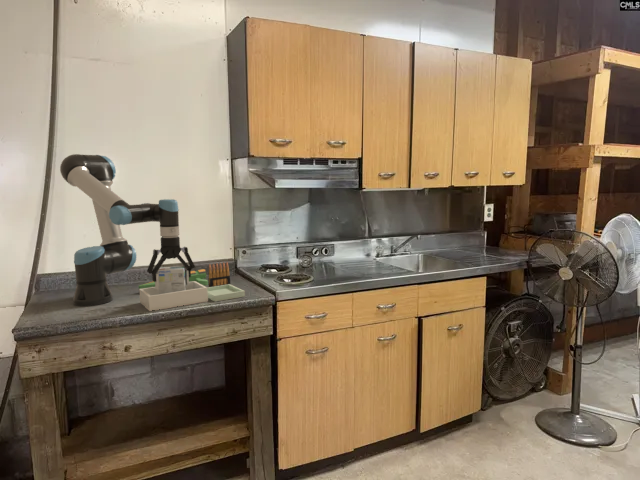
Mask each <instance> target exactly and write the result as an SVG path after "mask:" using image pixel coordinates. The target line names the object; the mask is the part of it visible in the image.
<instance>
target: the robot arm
mask: <svg viewBox="0 0 640 480" xmlns="http://www.w3.org/2000/svg"><path fill="white" fill-rule="evenodd" d="M59 168H60V169H59V170H60V174H61V176H62V178H63V180H64V181H65V182H67V183H68V184H69V185H70V186H72V187H77V188H78V189H79V190H80V191H81V192H83V193H84V194H85V195H87V196H88V197H89V198H90V199H91V200H92V205H93V208H94V213H95V215H96V220H97V225H98V229H99V233H100V238H101V241H102V242H101V243H100V244H99V245H95V246H87V247H83V248H80V249H78V250H76V251H75V252H74V255H73V256H74V257H73V259H74V260H73V264H74V269H75V271H74V273H75V283H76V287H75V292H74V295H73V300H72V301H73V305H74V306H78V307H88V306H89V307H90V306H97V305H99V306H100V305H103V304H107V303H110V302H111V301H113V293H112V291H111V288H110V286H109V284H108V281H107V275H112V274H116V273H121V272H122V273H123V272H125V271H127V270H130V269H132V268H133V267H134V266H135V264H136V261H137V251H136V249H135V248H134V247H133V245H131V244H129V243H128V240H127V239H126V238H124V236H123V234H122V229H121V226H124V225H126V226H127V225H132V224H140V223H149V222H158V223H159V235H160V249H156V248H155V249H153V250H152V257H151V259H150V262H149V264H148V267H147V270H146V271H147V273H149V274H151V275H152V276H151V277H152V282H155V289H157V290H159V281H158V270H159V268H160V267H162V265H163V264H164V262H165V261H166V260H170V259H177V260H178V261H179V262H180V263H181V264H182V266H185V282H186V285H187V286H188V285H189V277H191V271H192V269H195V267H196V266H195V264H194V262H193V260H192V257H191V256H190V254H189V249H188V247H187V246H182V247H181V242H180V241H181V240H180V225H179V223H180V222H179V221H180V220H179V212H180V211H179V210H180V209H179V202H178V201H177V199H174V198H173V199H172V198H170V199H169V198H168V199H166V198H164V199H159V200H158V203H149V202H147V203H146V202H145V203H140V204H129V203H128V202H127V201H125V200H124V199H123V198H121V197H120V196H119V195H118V194H116V193H115V192H114V191H113V190H112V188H111V186H112V184H113V183H114V182H113V180H114V179H115V177H116V174H117V172H116V170H117V169H116V166H115V164H114V162H113V160H111V158H109V157H107V156H106V155H99V154H79V153H78V154H77V153H76V154H75V153H73V154H70V155H68V156H66V157H64V159H63V160H62V161H61V164H60V167H59ZM181 252H182V253H183V254H184V257H185V259H186V261H187V262H186V261H185V259H184V258H182V256H181V255H180V253H181ZM160 254H161V256H160V259H159V260H158V261H157V259H158V256H159V255H160ZM156 261H157V263H156Z"/></svg>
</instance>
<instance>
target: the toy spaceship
mask: <svg viewBox="0 0 640 480" xmlns="http://www.w3.org/2000/svg"><path fill="white" fill-rule="evenodd" d="M192 281H196V282H198V283H200V284H201V285H203V286H205V287H206V286H209V281H208V279H207V271H206V269H197V270H196V271H195V270H191V277H189V282H192ZM150 287H155V282H153V281H150V282H147V283H144V284H139V285H138V290H139V289H143V288H150Z"/></svg>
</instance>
